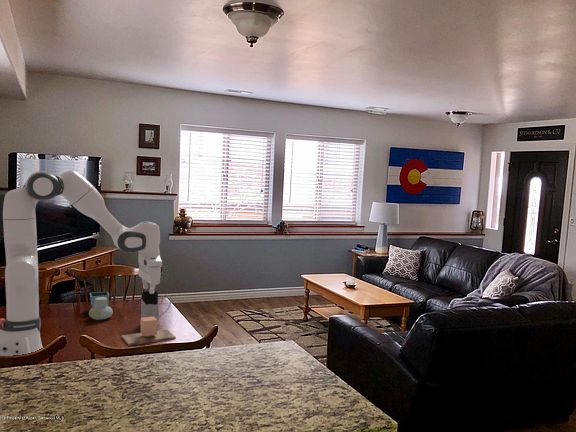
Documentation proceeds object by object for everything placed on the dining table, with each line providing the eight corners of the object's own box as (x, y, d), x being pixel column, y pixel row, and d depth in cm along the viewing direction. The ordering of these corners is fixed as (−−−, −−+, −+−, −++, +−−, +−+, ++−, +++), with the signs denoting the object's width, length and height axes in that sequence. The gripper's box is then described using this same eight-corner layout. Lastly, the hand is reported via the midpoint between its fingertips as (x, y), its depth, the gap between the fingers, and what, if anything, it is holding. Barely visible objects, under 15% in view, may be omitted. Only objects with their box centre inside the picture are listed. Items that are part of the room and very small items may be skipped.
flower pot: (89, 309, 263) (89, 292, 262) (107, 308, 267) (107, 291, 266) (90, 314, 255) (90, 296, 254) (109, 312, 259) (109, 295, 258)
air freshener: (115, 317, 250) (115, 297, 250) (105, 321, 242) (105, 301, 242) (96, 315, 253) (96, 295, 252) (85, 319, 245) (85, 299, 244)
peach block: (144, 336, 216) (144, 321, 215) (140, 332, 221) (140, 317, 220) (157, 334, 219) (157, 319, 218) (153, 331, 224) (153, 316, 223)
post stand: (128, 345, 210) (128, 326, 209) (121, 337, 220) (121, 319, 219) (175, 338, 220) (175, 320, 219) (166, 331, 230) (167, 314, 230)
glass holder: (139, 322, 243) (139, 291, 242) (169, 320, 248) (170, 289, 247) (140, 327, 235) (140, 295, 234) (171, 325, 240) (172, 293, 239)
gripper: (135, 255, 224) (134, 286, 225) (148, 263, 207) (147, 296, 208) (149, 255, 228) (149, 285, 229) (163, 262, 210) (163, 295, 211)
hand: (148, 291), depth 218 cm, fingers open, 8 cm apart
